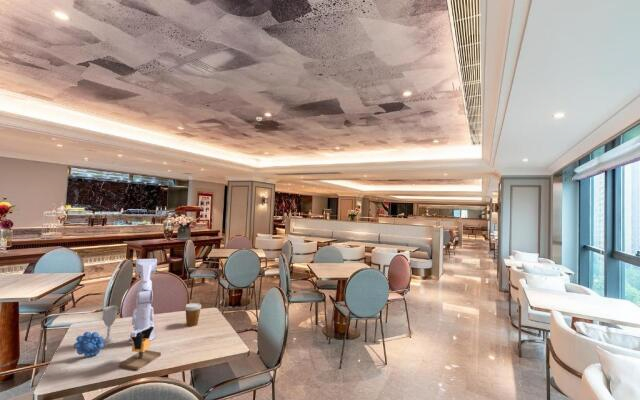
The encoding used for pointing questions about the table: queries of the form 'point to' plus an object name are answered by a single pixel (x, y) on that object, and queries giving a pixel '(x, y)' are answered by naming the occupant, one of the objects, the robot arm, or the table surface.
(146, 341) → the orange hollow frame block
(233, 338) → the table surface
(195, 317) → the disposable coffee cup
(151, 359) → the keeper base
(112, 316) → the chalice
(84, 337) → the grapes
